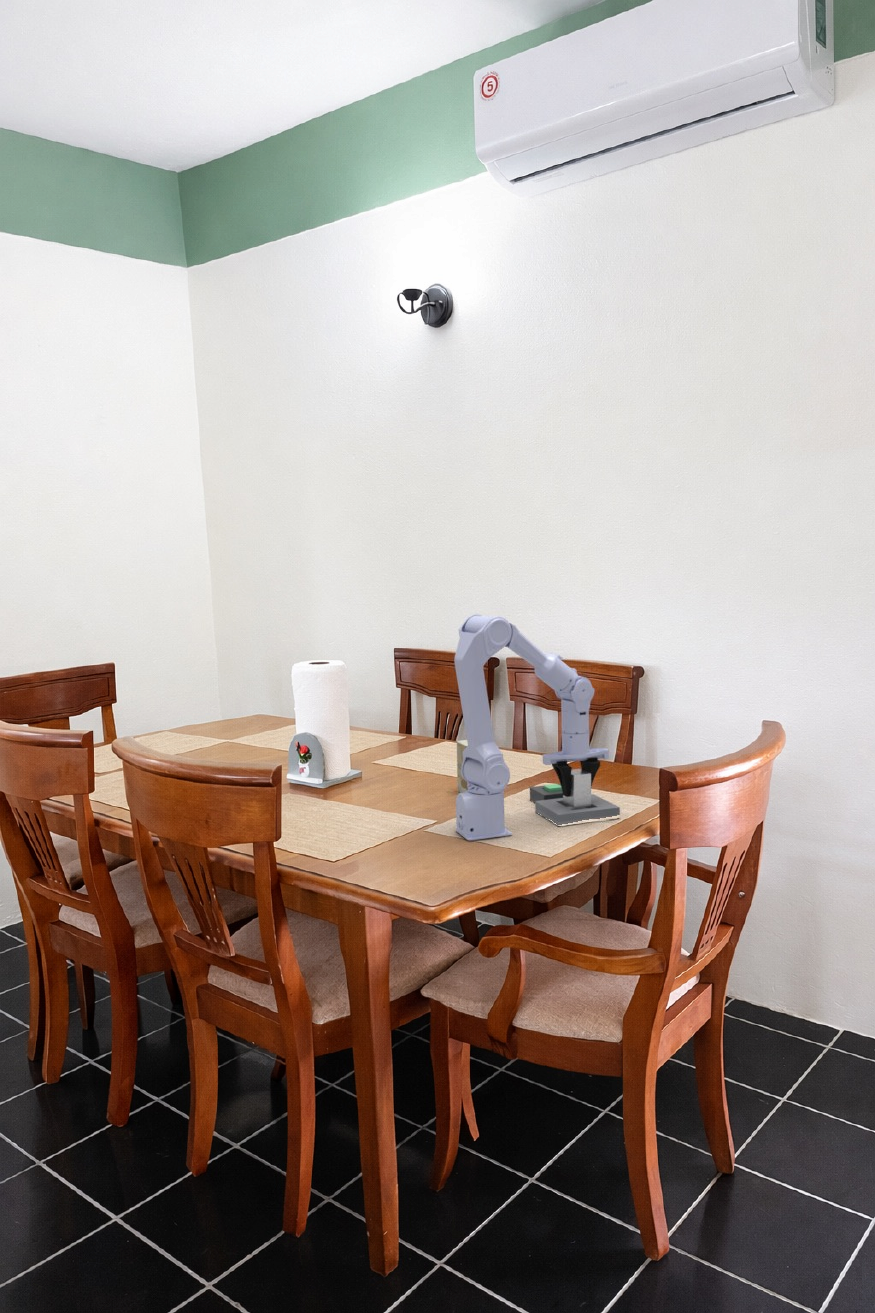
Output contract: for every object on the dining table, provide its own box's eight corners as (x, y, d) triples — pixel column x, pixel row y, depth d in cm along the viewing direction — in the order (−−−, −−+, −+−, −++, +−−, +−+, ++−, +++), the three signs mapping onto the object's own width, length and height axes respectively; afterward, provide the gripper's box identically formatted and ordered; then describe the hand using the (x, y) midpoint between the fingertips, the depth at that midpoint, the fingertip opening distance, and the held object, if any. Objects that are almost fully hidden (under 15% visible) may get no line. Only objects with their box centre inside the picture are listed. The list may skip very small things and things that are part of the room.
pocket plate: (558, 826, 205) (558, 815, 204) (535, 812, 216) (535, 801, 216) (619, 818, 209) (619, 807, 208) (593, 805, 220) (593, 794, 220)
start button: (549, 797, 222) (549, 788, 221) (543, 794, 225) (543, 785, 224) (562, 795, 222) (562, 787, 222) (556, 792, 226) (556, 784, 225)
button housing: (544, 808, 219) (544, 795, 218) (530, 800, 226) (529, 787, 226) (577, 804, 221) (577, 791, 221) (562, 796, 229) (561, 783, 228)
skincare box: (457, 791, 237) (455, 740, 235) (473, 788, 238) (472, 738, 237) (467, 797, 231) (465, 745, 229) (484, 794, 232) (482, 743, 231)
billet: (574, 808, 209) (573, 775, 208) (563, 802, 213) (563, 770, 213) (591, 806, 210) (591, 773, 209) (579, 800, 215) (579, 768, 214)
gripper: (597, 725, 216) (598, 786, 218) (536, 731, 212) (537, 793, 213) (613, 731, 210) (614, 794, 211) (549, 737, 205) (551, 801, 207)
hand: (576, 794), depth 212 cm, fingers closed on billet, 4 cm apart
